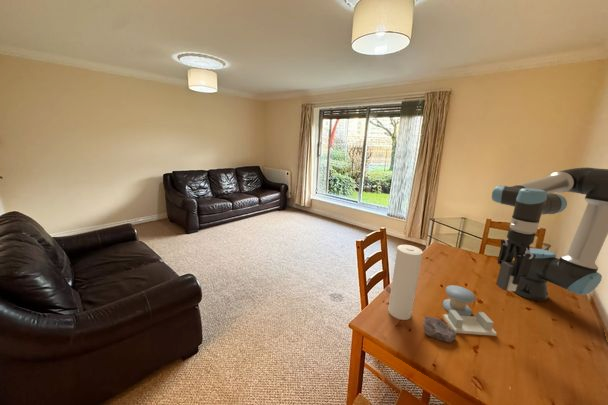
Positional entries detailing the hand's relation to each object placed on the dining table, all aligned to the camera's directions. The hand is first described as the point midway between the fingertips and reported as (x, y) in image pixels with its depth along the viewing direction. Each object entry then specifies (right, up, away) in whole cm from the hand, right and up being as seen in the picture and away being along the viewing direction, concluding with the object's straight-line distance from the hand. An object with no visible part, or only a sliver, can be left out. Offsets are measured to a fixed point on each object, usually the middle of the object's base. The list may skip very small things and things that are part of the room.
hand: (506, 286), depth 96 cm
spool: (-10, -15, +14) cm, 23 cm away
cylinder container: (-38, -15, +11) cm, 42 cm away
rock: (-27, -18, -1) cm, 33 cm away
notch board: (-12, -17, +4) cm, 22 cm away
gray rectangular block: (0, 0, 0) cm, 0 cm away
